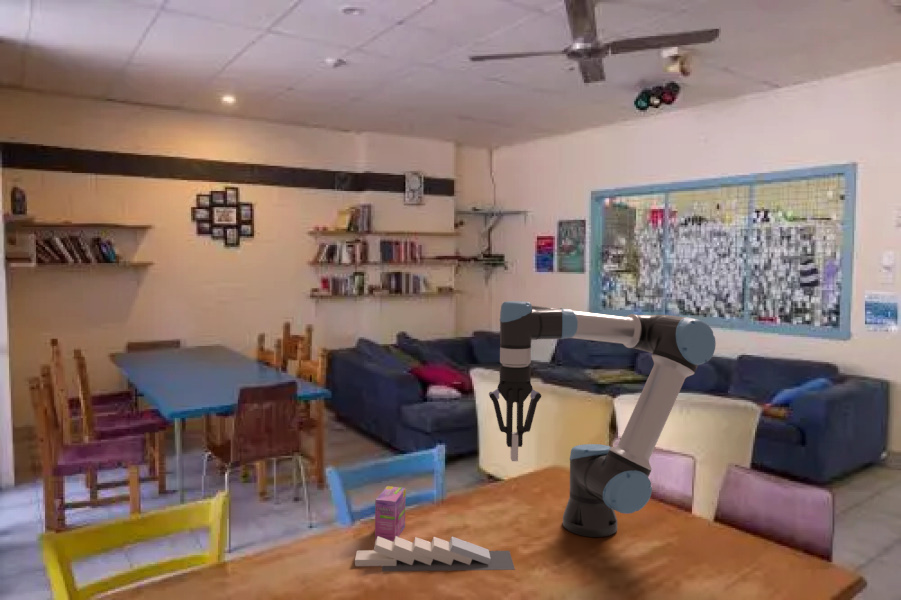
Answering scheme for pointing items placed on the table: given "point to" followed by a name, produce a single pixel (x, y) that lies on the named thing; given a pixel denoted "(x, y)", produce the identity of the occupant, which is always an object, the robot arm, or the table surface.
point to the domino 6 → (469, 550)
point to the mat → (458, 564)
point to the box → (390, 513)
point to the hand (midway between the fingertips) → (514, 459)
